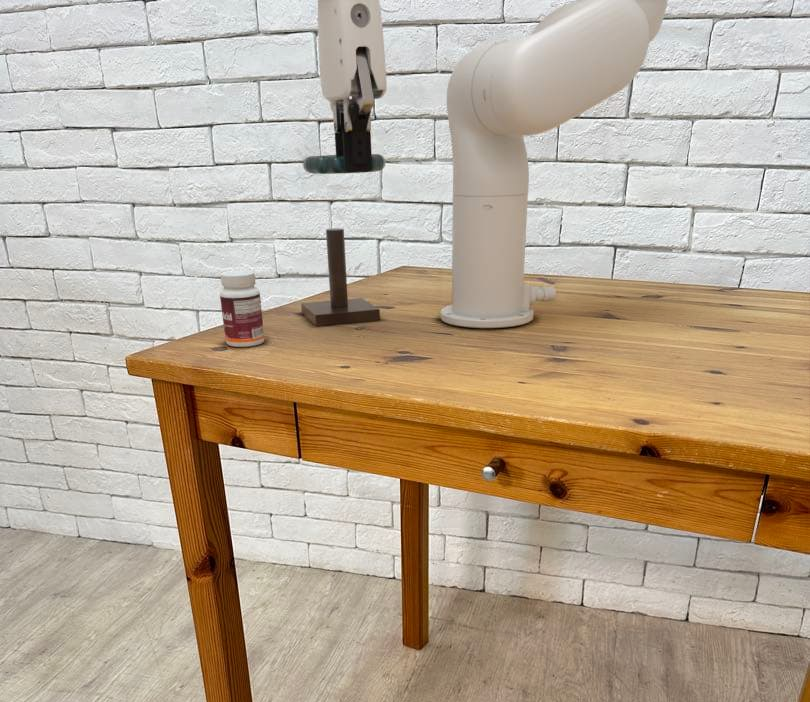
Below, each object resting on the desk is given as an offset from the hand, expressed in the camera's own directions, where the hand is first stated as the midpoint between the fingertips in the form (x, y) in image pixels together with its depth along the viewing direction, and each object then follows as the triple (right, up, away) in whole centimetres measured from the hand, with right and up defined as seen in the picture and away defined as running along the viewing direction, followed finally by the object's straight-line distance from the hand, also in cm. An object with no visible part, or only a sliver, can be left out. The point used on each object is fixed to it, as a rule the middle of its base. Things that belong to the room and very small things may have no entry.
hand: (354, 169), depth 89 cm
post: (-3, -12, +19) cm, 22 cm away
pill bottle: (-14, -19, +6) cm, 24 cm away
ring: (-1, +2, +3) cm, 4 cm away
